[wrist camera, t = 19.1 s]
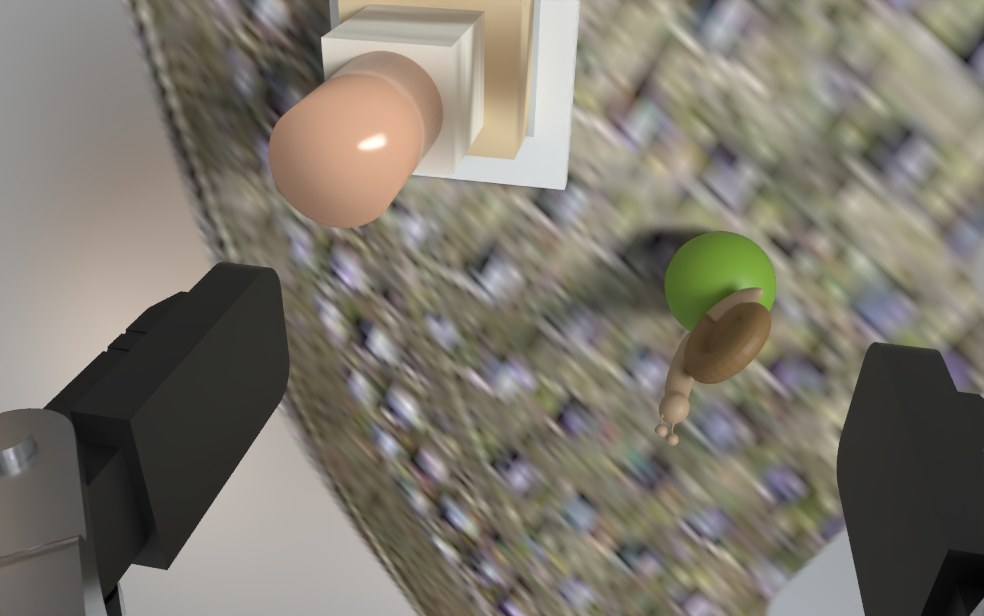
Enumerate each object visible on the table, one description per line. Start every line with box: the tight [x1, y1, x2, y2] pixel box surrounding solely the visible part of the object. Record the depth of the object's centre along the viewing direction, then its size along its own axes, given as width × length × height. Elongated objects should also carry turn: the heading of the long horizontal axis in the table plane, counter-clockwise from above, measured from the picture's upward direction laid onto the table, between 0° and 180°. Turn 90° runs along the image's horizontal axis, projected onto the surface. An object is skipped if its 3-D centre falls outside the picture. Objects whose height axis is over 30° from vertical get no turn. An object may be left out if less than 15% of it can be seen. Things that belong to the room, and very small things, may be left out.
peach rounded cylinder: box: [268, 51, 443, 228], centre depth 30 cm, size 4×4×6 cm
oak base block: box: [338, 0, 534, 160], centre depth 40 cm, size 8×8×4 cm
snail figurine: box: [655, 231, 776, 446], centre depth 41 cm, size 5×6×12 cm
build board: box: [329, 0, 580, 190], centre depth 42 cm, size 14×12×1 cm
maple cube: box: [321, 4, 485, 175], centre depth 35 cm, size 5×5×6 cm
